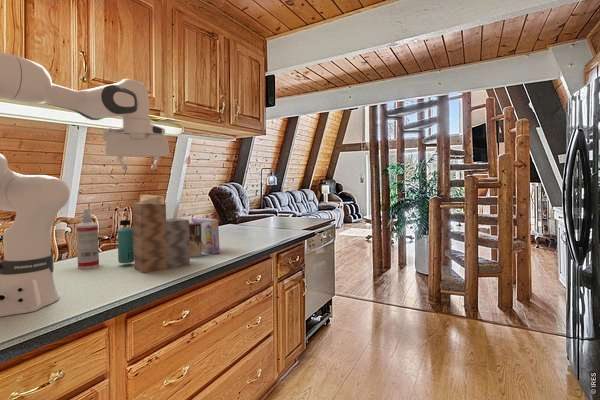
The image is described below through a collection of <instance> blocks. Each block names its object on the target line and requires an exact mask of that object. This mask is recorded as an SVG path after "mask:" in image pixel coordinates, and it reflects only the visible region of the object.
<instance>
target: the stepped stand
mask: <svg viewBox="0 0 600 400" xmlns="http://www.w3.org/2000/svg"><path fill="white" fill-rule="evenodd" d="M132 222H133V227H132V229H133V237H134V262H133V263H134V266H133V267H134V269H135V270H137V271H138V272H139V273H142V274H146V273H150V272H151V273H152V272H156V271H157V272H158V271H162V270H168V269H174V268H179V267H180V268H181V267H184V266H185V267H186V266H190V265H191V264H190V263H191V259H190V258H191V257H190V246H189V223H190V220H189V219H186V218H182V217H174V218H167V203H166V202H164V204H160V205H156V204H150V203H143V202H140V201H139V202H132Z"/></svg>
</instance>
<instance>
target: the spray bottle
mask: <svg viewBox="0 0 600 400" xmlns="http://www.w3.org/2000/svg"><path fill="white" fill-rule="evenodd" d="M90 211H91V209H90V208H84V209H83V214H82V219H81V220H82V221H81V223H79V224H76V227H75V228H76V249H77V251H76V255H77V268H78V269H81V270H86V269H88V270H89V269H94V268H97V267H100V254H99V251H100V250H99V225H98V223H95V222H92V215H91V212H90Z"/></svg>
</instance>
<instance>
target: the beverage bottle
mask: <svg viewBox="0 0 600 400" xmlns="http://www.w3.org/2000/svg"><path fill="white" fill-rule="evenodd" d="M119 225H120V226H125V227H120V228H118V229H117V255H118V256H117V260H118V263H119V264H130V263H134V229H133V227H131V220H130V219H121V220H120V221H119ZM126 226H127V227H126ZM129 226H130V227H129Z"/></svg>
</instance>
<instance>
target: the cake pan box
mask: <svg viewBox="0 0 600 400" xmlns="http://www.w3.org/2000/svg"><path fill="white" fill-rule="evenodd" d="M191 221H192V222H191V223H200V224H201V246H202V253H205V254H206V253H207V254H210V255H211V254H212V255H216V254H220V252H221V251H220V234H219V231H220V229H219V219H218V218H210V217H201V216H198V217H192V219H191Z"/></svg>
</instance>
